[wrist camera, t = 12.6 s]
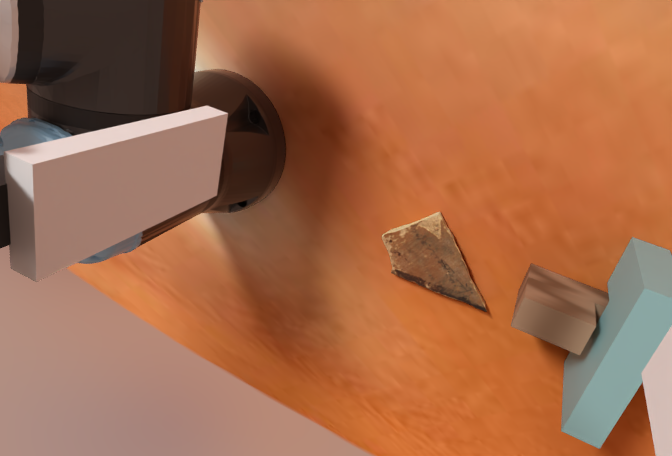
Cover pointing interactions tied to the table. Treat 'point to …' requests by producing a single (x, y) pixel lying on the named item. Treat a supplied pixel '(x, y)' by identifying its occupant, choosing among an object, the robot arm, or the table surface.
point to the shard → (432, 259)
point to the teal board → (619, 343)
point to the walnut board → (558, 309)
